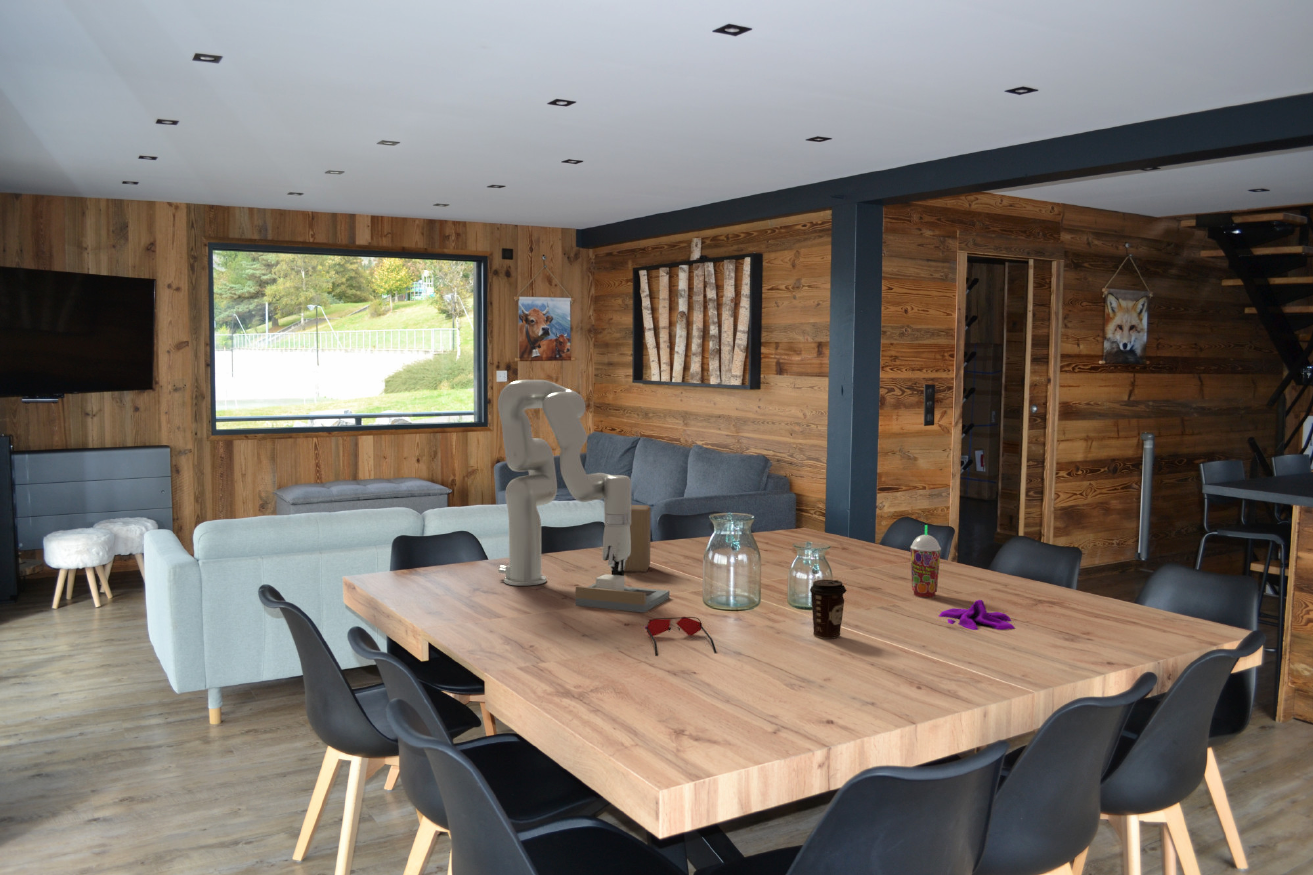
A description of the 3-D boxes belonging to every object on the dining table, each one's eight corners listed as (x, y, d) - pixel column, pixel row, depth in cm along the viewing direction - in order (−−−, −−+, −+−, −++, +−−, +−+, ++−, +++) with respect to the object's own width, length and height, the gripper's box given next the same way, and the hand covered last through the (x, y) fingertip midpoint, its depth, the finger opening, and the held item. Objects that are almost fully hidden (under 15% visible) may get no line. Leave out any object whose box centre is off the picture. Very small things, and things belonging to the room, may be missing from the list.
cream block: (595, 592, 270) (595, 578, 270) (605, 588, 276) (605, 574, 276) (615, 594, 268) (615, 580, 268) (624, 590, 274) (624, 575, 273)
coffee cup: (848, 633, 238) (849, 580, 237) (843, 641, 230) (844, 587, 229) (812, 629, 241) (813, 577, 240) (806, 638, 233) (807, 584, 232)
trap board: (575, 605, 264) (575, 586, 264) (604, 591, 281) (604, 574, 281) (644, 612, 257) (644, 593, 256) (669, 597, 273) (669, 580, 273)
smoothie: (907, 596, 276) (909, 526, 275) (911, 590, 284) (913, 522, 282) (937, 599, 273) (939, 528, 271) (941, 593, 281) (943, 524, 279)
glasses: (701, 635, 237) (701, 614, 236) (716, 654, 220) (717, 633, 220) (644, 637, 234) (644, 617, 234) (655, 657, 218) (655, 635, 218)
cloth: (935, 611, 262) (935, 588, 261) (1008, 615, 258) (1009, 592, 258) (941, 633, 240) (942, 608, 240) (1022, 638, 236) (1022, 613, 236)
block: (650, 566, 317) (650, 504, 315) (647, 572, 307) (647, 509, 305) (619, 565, 318) (620, 504, 316) (615, 572, 308) (615, 508, 306)
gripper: (616, 515, 284) (616, 577, 285) (594, 522, 270) (594, 588, 271) (640, 516, 281) (640, 579, 282) (619, 524, 267) (619, 590, 268)
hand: (617, 583), depth 277 cm, fingers closed
